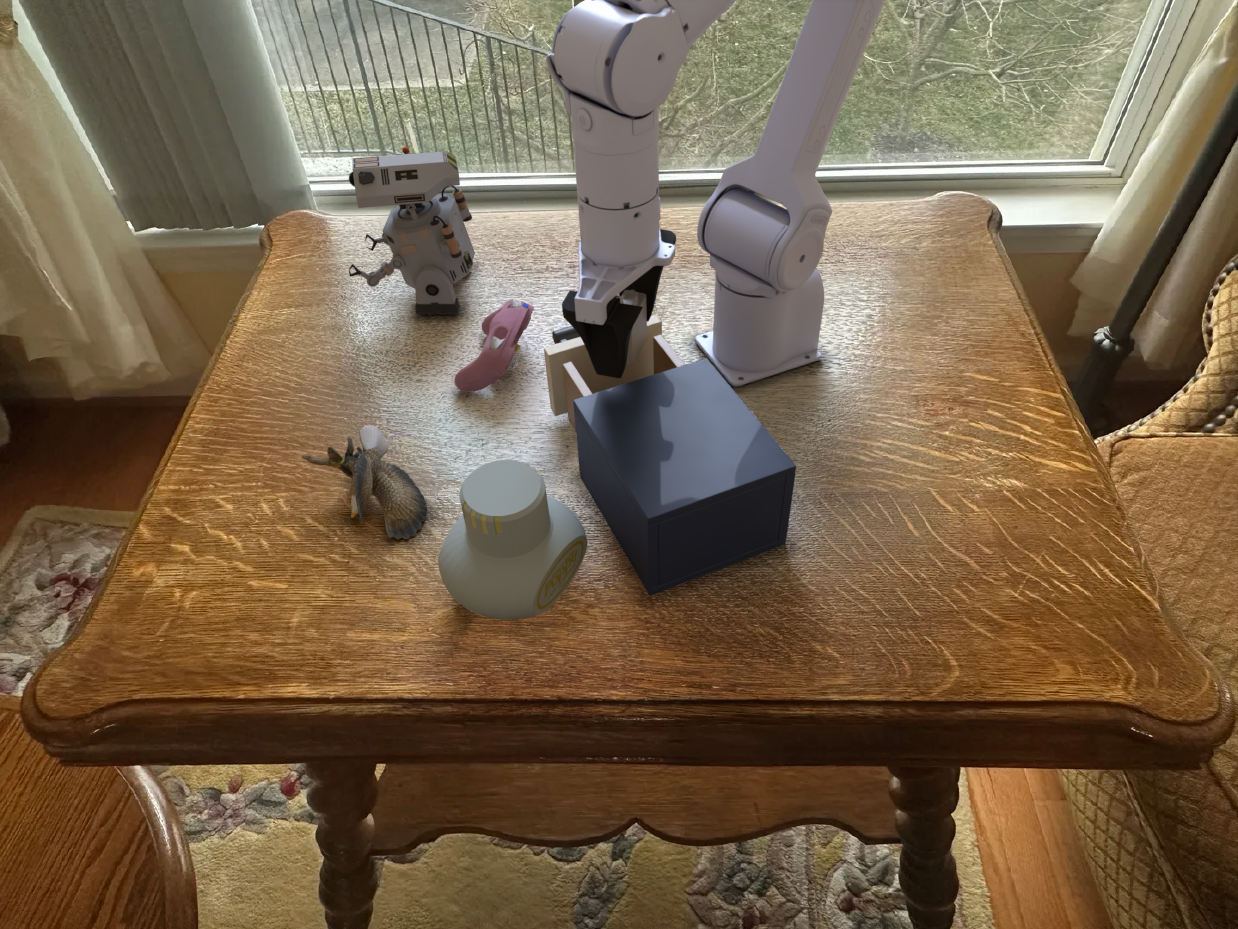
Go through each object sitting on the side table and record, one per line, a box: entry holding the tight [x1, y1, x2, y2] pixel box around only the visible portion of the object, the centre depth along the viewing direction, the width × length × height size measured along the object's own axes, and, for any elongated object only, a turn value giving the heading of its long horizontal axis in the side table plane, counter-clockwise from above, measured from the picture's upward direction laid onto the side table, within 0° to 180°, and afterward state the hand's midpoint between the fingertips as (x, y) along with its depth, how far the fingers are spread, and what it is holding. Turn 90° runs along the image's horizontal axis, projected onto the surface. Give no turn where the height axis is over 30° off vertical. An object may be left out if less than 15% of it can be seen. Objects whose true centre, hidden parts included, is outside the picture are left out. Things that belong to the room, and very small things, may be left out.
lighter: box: [616, 289, 647, 366], centre depth 73 cm, size 7×2×8 cm, turn 161°
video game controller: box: [454, 297, 535, 393], centre depth 87 cm, size 10×5×7 cm, turn 168°
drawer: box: [543, 314, 686, 434], centre depth 79 cm, size 17×10×7 cm, turn 24°
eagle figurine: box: [301, 424, 428, 540], centre depth 75 cm, size 8×7×9 cm
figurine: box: [348, 146, 476, 317], centre depth 93 cm, size 9×12×15 cm
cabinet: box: [573, 357, 797, 597], centre depth 72 cm, size 14×12×9 cm
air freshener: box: [437, 459, 588, 621], centre depth 67 cm, size 11×8×10 cm
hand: (624, 344), depth 75 cm, fingers closed on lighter, 7 cm apart
